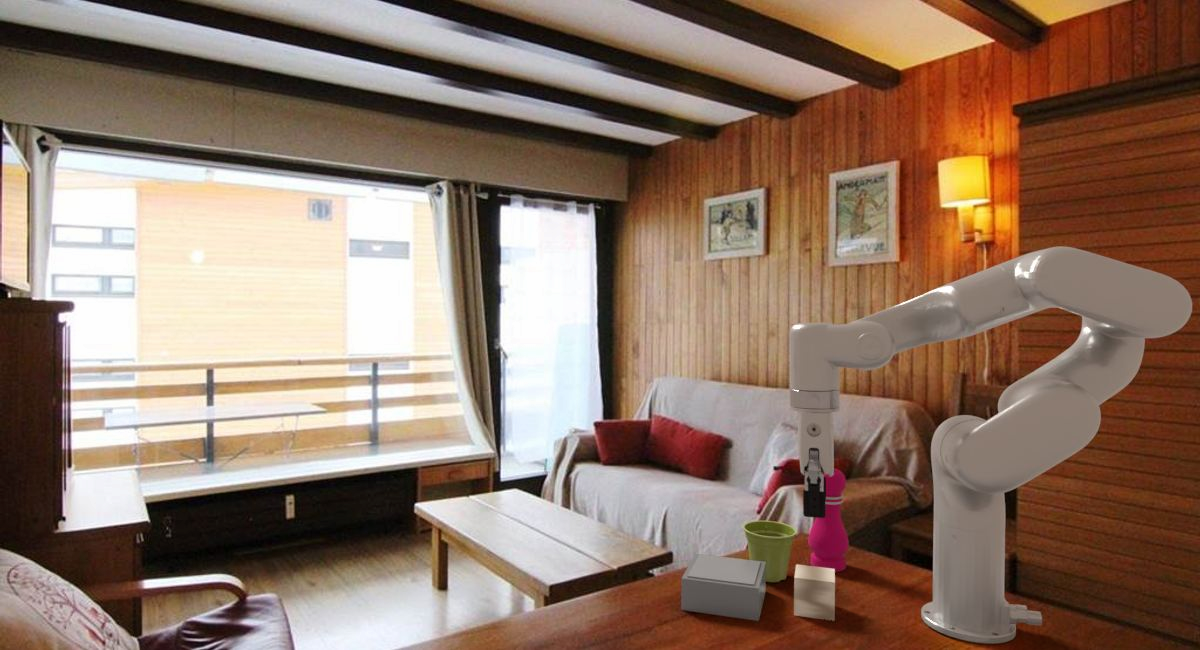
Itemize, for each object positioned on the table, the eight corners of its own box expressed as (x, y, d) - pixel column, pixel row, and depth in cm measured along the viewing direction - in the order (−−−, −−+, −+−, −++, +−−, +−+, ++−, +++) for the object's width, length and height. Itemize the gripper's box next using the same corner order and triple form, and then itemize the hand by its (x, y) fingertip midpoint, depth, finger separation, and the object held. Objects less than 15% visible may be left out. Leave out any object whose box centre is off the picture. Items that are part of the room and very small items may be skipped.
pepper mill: (821, 556, 133) (822, 453, 132) (856, 567, 127) (857, 460, 127) (800, 564, 128) (801, 458, 128) (834, 576, 122) (836, 465, 122)
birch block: (834, 605, 110) (834, 568, 110) (834, 621, 104) (834, 582, 104) (795, 600, 112) (796, 564, 112) (793, 615, 106) (794, 577, 106)
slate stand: (765, 591, 116) (765, 560, 115) (758, 620, 104) (758, 587, 104) (695, 581, 119) (695, 552, 119) (681, 609, 108) (681, 577, 108)
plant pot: (791, 568, 126) (791, 521, 126) (800, 588, 117) (801, 537, 117) (739, 565, 127) (740, 519, 127) (745, 585, 118) (746, 535, 118)
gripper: (840, 408, 99) (840, 526, 99) (839, 395, 115) (839, 496, 115) (786, 406, 101) (787, 521, 101) (792, 394, 117) (793, 493, 118)
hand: (815, 508), depth 108 cm, fingers open, 9 cm apart
